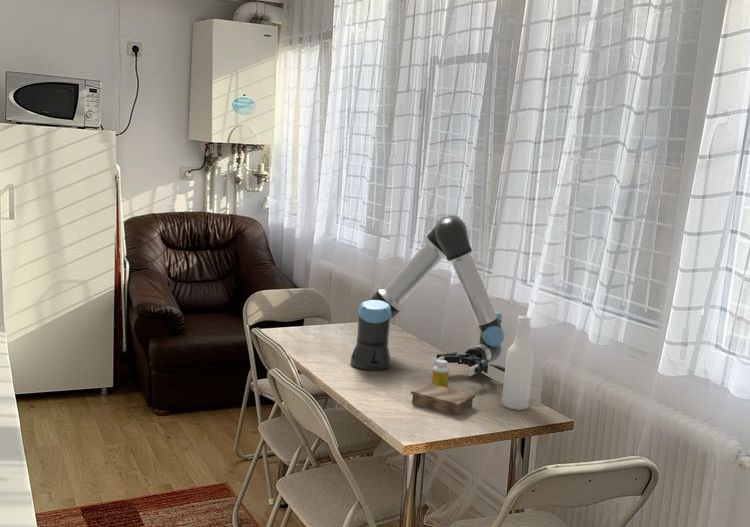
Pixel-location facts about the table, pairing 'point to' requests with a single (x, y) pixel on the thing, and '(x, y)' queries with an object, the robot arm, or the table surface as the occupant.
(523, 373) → the alcohol
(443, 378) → the supplement bottle
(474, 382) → the table surface
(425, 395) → the stand
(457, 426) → the table surface
